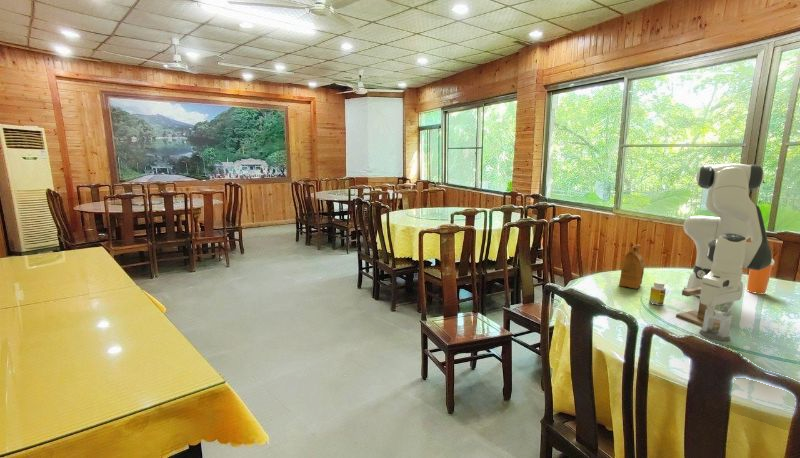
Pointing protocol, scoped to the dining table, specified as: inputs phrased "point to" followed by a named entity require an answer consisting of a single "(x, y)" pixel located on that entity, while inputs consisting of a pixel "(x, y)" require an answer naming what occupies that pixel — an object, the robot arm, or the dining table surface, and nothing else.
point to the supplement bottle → (657, 293)
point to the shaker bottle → (759, 279)
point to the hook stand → (694, 315)
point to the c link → (724, 323)
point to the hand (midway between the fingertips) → (718, 313)
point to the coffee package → (632, 269)
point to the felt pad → (713, 335)
